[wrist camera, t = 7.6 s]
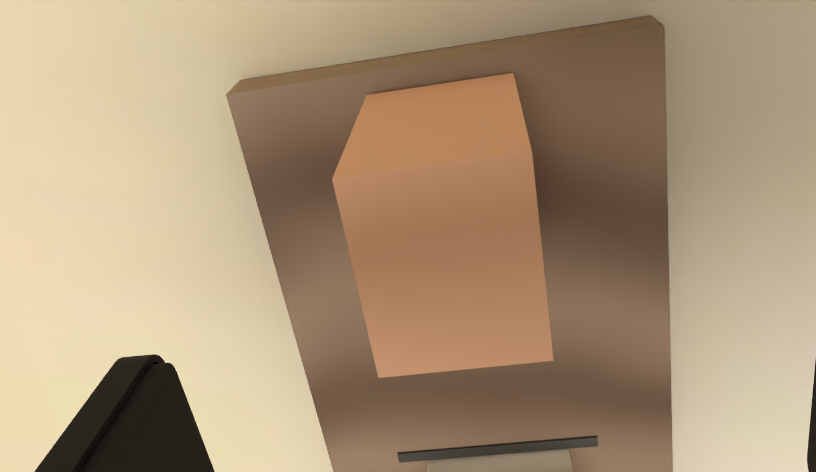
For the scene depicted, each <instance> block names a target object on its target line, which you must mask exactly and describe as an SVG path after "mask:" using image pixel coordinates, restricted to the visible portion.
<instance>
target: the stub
mask: <svg viewBox="0 0 816 472" xmlns="http://www.w3.org/2000/svg"><path fill="white" fill-rule="evenodd" d="M332 181H333V185H334V189H335V194H336V198H337V202H338V207H339V211H340V215H341V219H342V224H343V228H344V232H345V237H346V241H347V245H348V250H349V254H350V258H351V262H352V267H353V271H354V275H355V280H356V284H357V288H358V293H359V297H360V301H361V305H362V310H363V314H364V318H365V323H366V327H367V331H368V336H369V340H370V344H371V348H372V353H373V357H374V361H375V366H376V370H377V374H378V378H383V377H394V376H404V375H414V374H424V373H434V372H444V371H454V370H465V369H475V368H485V367H495V366H505V365H515V364H525V363H536V362H546V361H554V360H553V350H552V340H551V331H550V321H549V311H548V302H547V292H546V282H545V273H544V263H543V253H542V244H541V234H540V224H539V215H538V205H537V195H536V186H535V176H534V166H533V156H532V149H531V145H530V141H529V137H528V133H527V128H526V124H525V120H524V116H523V112H522V107H521V103H520V99H519V95H518V91H517V86H516V82H515V78H514V74H513V73H509V74H502V75H496V76H489V77H482V78H476V79H469V80H463V81H456V82H449V83H443V84H436V85H429V86H423V87H416V88H410V89H403V90H396V91H390V92H383V93H376V94H370V95H366V97H365V100H364V102H363V105H362V107H361V110H360V112H359V114H358V117H357V119H356V122H355V124H354V127H353V129H352V131H351V134H350V136H349V139H348V141H347V144H346V146H345V148H344V151H343V153H342V156H341V158H340V161H339V163H338V166H337V168H336V170H335V173H334V175H333V178H332Z"/></svg>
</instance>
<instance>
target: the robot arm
mask: <svg viewBox="0 0 816 472" xmlns="http://www.w3.org/2000/svg"><path fill="white" fill-rule="evenodd" d="M807 463H808V470H809V472H816V362H815V374H814V385H813V397H812V408H811V420H810V431H809V443H808V454H807ZM35 472H214V469H213V466H212V464H211V461H210V459H209V456H208V453H207V451H206V448H205V445H204V443H203V440H202V438H201V435H200V432H199V430H198V427H197V424H196V422H195V419H194V417H193V414H192V411H191V409H190V406H189V403H188V401H187V398H186V396H185V393H184V390H183V388H182V385H181V382H180V380H179V377H178V374H177V372H176V370H175V368H174V366H173V365H172V364H170V363H165V362H164V360H163V359H162V358H161V357H160V356H158V355H144V356H132V357H123V358H120V359H118V360H117V361H116V362H115V363H114V364H113V366H112V367H111V369H110V370H109V371H108V373H107V374H106V375H105V377H104V378H103V379H102V381H101V382H100V383H99V385H98V386H97V388H96V389H95V390H94V392H93V393H92V394H91V396H90V397H89V398H88V400H87V401H86V402H85V404H84V405H83V407H82V408H81V409H80V411H79V412H78V413H77V415H76V416H75V417H74V419H73V420H72V421H71V423H70V424H69V426H68V427H67V428H66V430H65V431H64V432H63V434H62V435H61V436H60V438H59V439H58V440H57V442H56V443H55V445H54V446H53V447H52V449H51V450H50V451H49V453H48V454H47V455H46V457H45V458H44V460H43V461H42V462H41V464H40V465H39V466H38V468H37V469H36V470H35Z"/></svg>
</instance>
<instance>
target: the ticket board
mask: <svg viewBox="0 0 816 472" xmlns="http://www.w3.org/2000/svg"><path fill="white" fill-rule="evenodd" d="M509 73H513V74H514V78H515V82H516V86H517V91H518V95H519V99H520V103H521V107H522V112H523V116H524V120H525V124H526V128H527V133H528V137H529V141H530V145H531V149H532V156H533V166H534V176H535V186H536V195H537V205H538V215H539V224H540V234H541V244H542V253H543V263H544V273H545V282H546V292H547V302H548V311H549V321H550V331H551V340H552V350H553V360H554V361H546V362H536V363H525V364H515V365H505V366H495V367H485V368H475V369H465V370H454V371H444V372H434V373H424V374H414V375H404V376H394V377H383V378H378V374H377V370H376V366H375V361H374V357H373V353H372V348H371V344H370V340H369V336H368V331H367V327H366V323H365V318H364V314H363V310H362V305H361V301H360V297H359V293H358V288H357V284H356V280H355V275H354V271H353V267H352V262H351V258H350V254H349V250H348V245H347V241H346V237H345V232H344V228H343V224H342V219H341V215H340V211H339V207H338V202H337V198H336V194H335V189H334V185H333V181H332V178H333V175H334V173H335V170H336V168H337V166H338V163H339V161H340V158H341V156H342V153H343V151H344V148H345V146H346V144H347V141H348V139H349V136H350V134H351V131H352V129H353V127H354V124H355V122H356V119H357V117H358V114H359V112H360V110H361V107H362V105H363V102H364V100H365V97H366V95H370V94H376V93H383V92H390V91H396V90H403V89H410V88H416V87H423V86H429V85H436V84H443V83H449V82H456V81H463V80H469V79H476V78H482V77H489V76H496V75H502V74H509ZM226 95H227V99H228V102H229V106H230V109H231V113H232V116H233V120H234V123H235V127H236V130H237V134H238V137H239V141H240V144H241V148H242V151H243V155H244V159H245V162H246V166H247V169H248V173H249V176H250V180H251V183H252V187H253V190H254V194H255V197H256V201H257V204H258V208H259V211H260V215H261V218H262V222H263V225H264V229H265V232H266V236H267V239H268V243H269V246H270V250H271V253H272V257H273V260H274V264H275V267H276V271H277V274H278V278H279V281H280V285H281V288H282V292H283V296H284V299H285V303H286V306H287V310H288V313H289V317H290V320H291V324H292V327H293V331H294V334H295V338H296V341H297V345H298V348H299V352H300V355H301V359H302V362H303V366H304V369H305V373H306V376H307V380H308V383H309V387H310V390H311V394H312V397H313V401H314V404H315V408H316V411H317V415H318V418H319V422H320V425H321V429H322V433H323V436H324V440H325V443H326V447H327V450H328V454H329V457H330V461H331V464H332V468H333V471H334V472H673V467H672V414H671V362H670V309H669V257H668V204H667V151H666V99H665V46H664V26H663V25H662V24H661V23H660V22H658V21H657V20H656V19H655V18H653V17H652V16H645V17H639V18H633V19H626V20H620V21H614V22H607V23H601V24H595V25H588V26H582V27H576V28H569V29H563V30H557V31H550V32H544V33H537V34H531V35H525V36H518V37H512V38H506V39H499V40H493V41H487V42H480V43H474V44H468V45H461V46H455V47H449V48H442V49H436V50H430V51H423V52H417V53H410V54H404V55H398V56H391V57H385V58H379V59H372V60H366V61H360V62H353V63H347V64H341V65H334V66H328V67H322V68H315V69H309V70H303V71H296V72H290V73H284V74H277V75H271V76H264V77H258V78H252V79H245V80H240V81H239V82H238V83H237V84H236V85H235V86H234V87H233V88H232V89H231V90H230V91H229V92H228V93H227V94H226Z"/></svg>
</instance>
